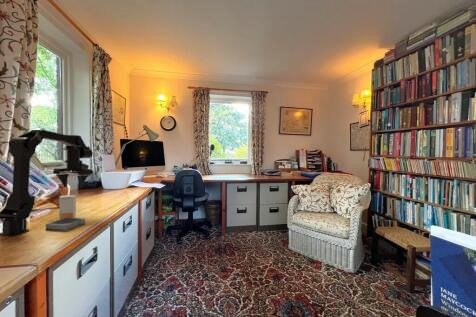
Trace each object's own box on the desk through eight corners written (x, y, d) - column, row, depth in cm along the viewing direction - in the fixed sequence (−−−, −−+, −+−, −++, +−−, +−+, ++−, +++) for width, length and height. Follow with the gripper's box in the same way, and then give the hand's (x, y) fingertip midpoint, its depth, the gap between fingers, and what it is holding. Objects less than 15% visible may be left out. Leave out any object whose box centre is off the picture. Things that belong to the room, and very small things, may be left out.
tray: (66, 231, 96) (66, 225, 96) (45, 229, 98) (45, 223, 98) (84, 223, 106) (84, 218, 106) (65, 222, 108) (66, 217, 108)
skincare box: (58, 221, 109) (58, 197, 108) (61, 219, 113) (61, 195, 112) (73, 220, 111) (74, 196, 111) (76, 217, 115) (76, 194, 115)
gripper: (100, 158, 127) (100, 186, 127) (70, 157, 129) (70, 184, 130) (84, 159, 116) (84, 189, 116) (52, 158, 118) (52, 187, 119)
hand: (73, 187), depth 120 cm, fingers open, 9 cm apart
